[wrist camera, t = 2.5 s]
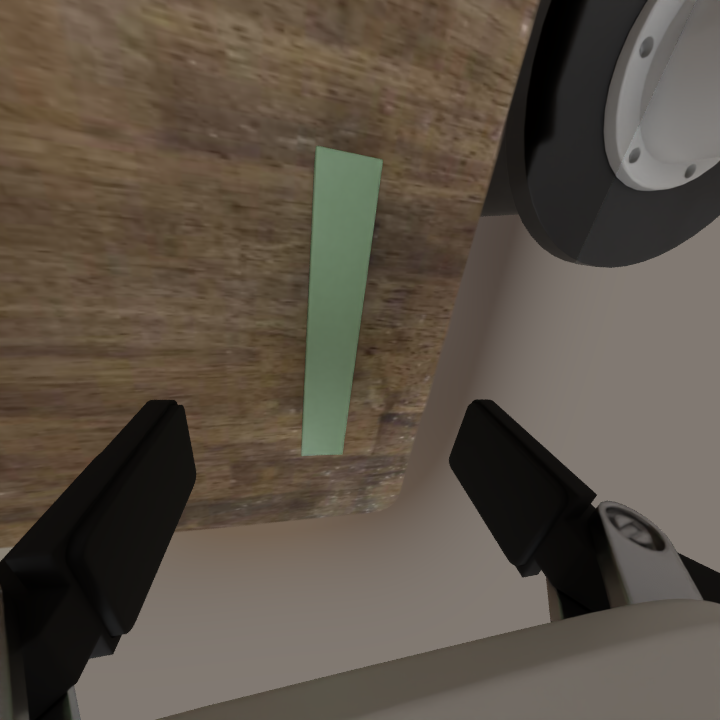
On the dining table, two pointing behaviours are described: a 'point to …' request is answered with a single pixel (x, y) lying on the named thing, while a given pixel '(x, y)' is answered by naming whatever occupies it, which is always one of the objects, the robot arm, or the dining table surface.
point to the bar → (336, 290)
